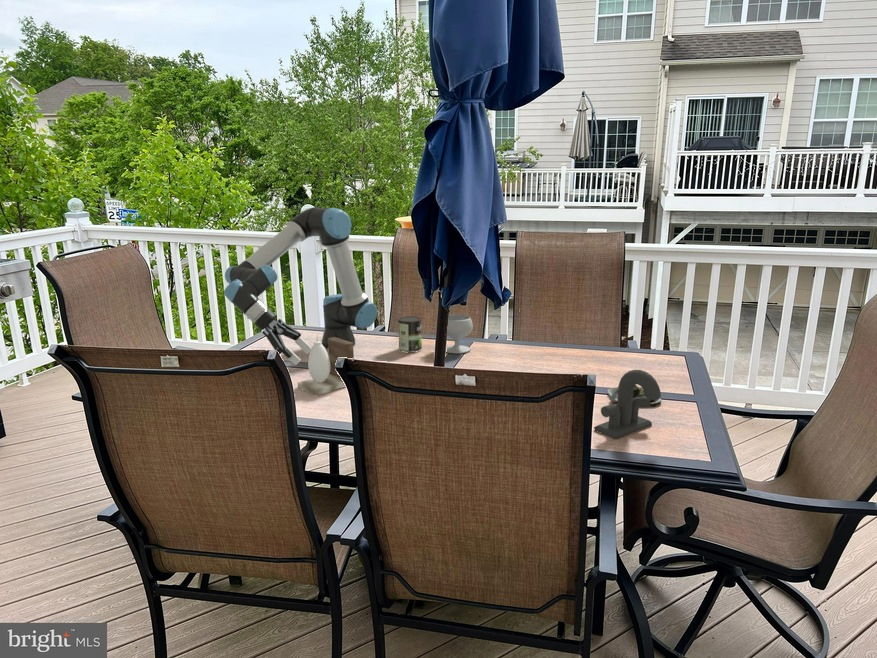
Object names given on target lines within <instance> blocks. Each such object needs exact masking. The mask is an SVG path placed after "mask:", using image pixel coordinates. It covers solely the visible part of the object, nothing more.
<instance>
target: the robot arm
mask: <svg viewBox="0 0 877 658" xmlns="http://www.w3.org/2000/svg"><path fill="white" fill-rule="evenodd" d="M351 229H352V219H351V218H350V216H349V215H348V213H347V212H345V211H344V210H343V209H340V208H336V207H310V208H307V209H305V210H303V211H301V212H299V214H296V215H295V216H294V217H292V218H291V219H290V220H289V221H288V222H286V227H284V228H283V229H282V230H281V231H279V232H278V233H277V234H275V235H274V236H273V237H272V238H270V239H269V240H268V241H267V242H265V243H264V244H263V245H262V246H261V247H260V248H259V249H257V250H256V251H254V252H253V253H252V254H250V255H249V257H247V258H246V259H244V260H243V261H242V262H241V263H239V264H238V265H231V266H229V267H227V269H226V270H225V272H224V279H225V281H226V283H227V284H228V285H227V286H226V287H225V288H224V290H223V295H224V296H225V297H226V298H227V299H228V301H229V302H230V303H231V304H233V305H234V306H235V307H236V309H238V310H239V311H241V313H243V314H244V315H245V316H246V318H247V320H250V321H251V322H252V323H254V325H255V326H256V327H257V328H258V329H259V330H260V331H262V334H263V335H264V337H266V339H267V340H268V342H269V343H270V345H271V347H272V348H273V349H274V351H275V350H277V351H278V352H279V354H278V355H283V356H285V358H287V359H288V360H289V361H290V362H291V363H292V364H293V365H294V366H297V365H298V364H299V363H300V362H301V361H302V360H301V358H300V357H299V356H298V355H296V353H294V352H293V350H291V348H289V347H286V345H285V342H284V340H283V338H282V336H284V337H286V338H289V339H290V340H292V341H294V344H296V345H297V346H299V348H300V349H302V351H304V353H305V354H307V355H308V354H310V351H311V349H312V347H311V346H310V344H309V343H307V342H306V341H305V340H304V339H303V338H302V337H301V336H302V333H301V332H300V331H298V330H297V329H295V328H294V327H293V326H291V325H289V324H287V323H285V321H283V320H282V319H281V318H279V319H278V320H276V318H277V315H276V314H275V313H274V312H273V311H272V310H271V309H268V308H269V307H268V305H266V304H265V303H264V302H263V301H262V300H261V299H260V298H258V297H260V296H261V294H263V293H265V291H267V290H268V289H269V288H270V287H272V285H274V284H275V283H276V281H278V274H277V272H276V270H275V269H274V267H272V266H271V265H273V264H274V263H275V262H276V261H277V260H278V259H280V257H281V258H282V256H283V255H284V254H286V253H287V252H288V251H289V250H290V249H291V248H293V247H294V246H295V245H296V244H298V243H299V242H300V243H301V242H304V241H305V240H307V239H308V238H310V237H311V238H312V237H319V240H320V243H321V246H323V247H325V248H326V250H327V252H328V255H329V258H330V262H331V264H332V268H333V272H334V275H335V277H336V280H337V283H338V286H339V289H340V292H341V293H337V294H332V295H331V294H330V295H326V296H324V298H323V303H322V304H323V305H322V308H323V321H324V322H323V323H324V324H323V325H324V330H323V334H322V339H321V344H322V345H323V346H324V348H325V349H328V338H331V337H336V338H339V339H342V340H345V341H348V342H351V343H353V347H354V346H355V345H356V338H355V335H354V333H353V330H352V327H354V328H358V329H368V328H369V327H372V326H373V324H374V323H375V321H376V318H377V314H378V309H377V305H376V304H375V303H373V302H372V301H369V298H368V297H369V296H368V295H367V293H366V292H363V289H362V287H361V283H360V280H359V276H358V273H357V271H356V270H357V269H356V267H355V264H354V261H353V258H352V253H351V251H350V248H349V247H350V246H349V244H348V241H349V239H350V234H351V232H352V230H351Z"/></svg>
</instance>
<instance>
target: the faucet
mask: <svg viewBox="0 0 877 658" xmlns="http://www.w3.org/2000/svg"><path fill="white" fill-rule="evenodd" d="M635 385H636V386H639V387H642V388H643V390H644V392H645V396H646V397H635V398H633V390H634V386H635ZM618 386H619V388H618V401H617V403H616V404H614V403H611V404H607V405H605V406H602V407H601V408H600V413H601V416H602V417H604V418H608V421H605V422H603V423H600V424H597V425H596V426H594V427H593V430H594V429H595V431H594V432H597V431H598V432H597V433H599V432H601V433H603V434H602V435H604V434H605V435H604V436H606V435H607V436H606V437H608V436H609V437H608V438H611V439H613V440H615V439H617V440H619V439H622V438H624V437H626V436H629V435H631V434H634V433H636V432H639V431H642V430H644V429H647V428H649V427H651V426H653V425H652V424H653V422H652V421H651V420H649V419H647V418H644V417H641V416H639V410H640V408H651V407H650V404H651V402H650V399H651V400H658V399H660V398H661V399H662V397H661V396H662V395H661V389H660V386H659V384H658V381H657V380H656V378H654V377H653V376H652V375H651V374H650V373H649V372H647V371H645V370H642V369H632V370H628V371H627V372H625V373H624V374H623V375H622V376H621V378H620V379H619V382H618ZM601 433H600V434H601Z"/></svg>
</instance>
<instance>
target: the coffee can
mask: <svg viewBox="0 0 877 658" xmlns="http://www.w3.org/2000/svg"><path fill="white" fill-rule="evenodd" d="M397 321H398V322H397V323H398V325H397V326H398V351H399V350H400V351H404V352H416V351H419V350H421V349H422V348H423V347H422V345H423V343H422V342H423V341H422V338H423V337H422V317H420V316H413V315H412V316H411V315H410V316H401V317H399V318H397ZM422 350H423V349H422ZM422 350H421V351H422ZM400 351H399V352H400ZM404 352H403V353H404ZM416 353H417V352H416Z"/></svg>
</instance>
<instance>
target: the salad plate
mask: <svg viewBox="0 0 877 658" xmlns="http://www.w3.org/2000/svg"><path fill="white" fill-rule="evenodd" d="M618 388H619V385H617V386H616V387H612V388H608V390H607V393H608V395H609V400H610V401H611V402H614V403H615V404H617V401H618ZM635 397H646V396H645V392H644V390H643V388H642V387H641V386H638V385H637V384H636V385H635V386H634V390H633V398H635ZM650 402H651V404H650V407H649V408H653V407H657V406H658V405H660V404H661V402H662V397H661V398H660V399H658V400H651V399H650Z"/></svg>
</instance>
